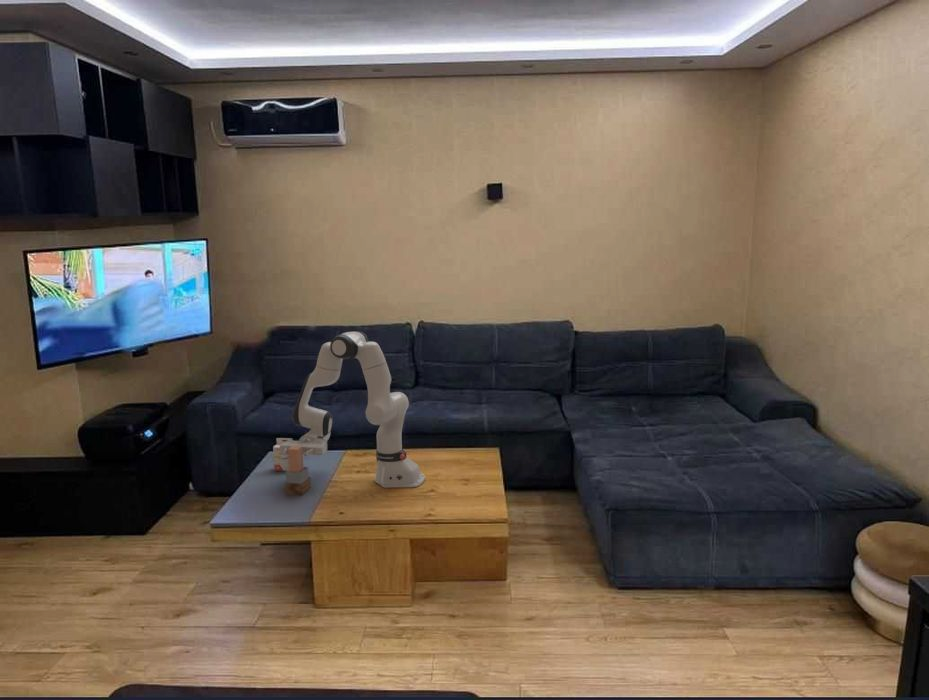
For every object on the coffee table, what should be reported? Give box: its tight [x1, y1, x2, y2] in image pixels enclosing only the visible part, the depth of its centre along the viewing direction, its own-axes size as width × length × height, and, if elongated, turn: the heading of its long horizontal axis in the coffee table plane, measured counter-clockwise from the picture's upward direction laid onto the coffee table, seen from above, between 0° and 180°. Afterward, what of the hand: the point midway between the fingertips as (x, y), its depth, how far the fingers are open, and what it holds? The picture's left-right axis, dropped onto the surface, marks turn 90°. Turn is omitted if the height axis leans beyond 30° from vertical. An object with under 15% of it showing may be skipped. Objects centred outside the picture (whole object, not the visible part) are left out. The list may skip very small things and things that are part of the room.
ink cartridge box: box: [272, 437, 293, 472], centre depth 315 cm, size 9×5×15 cm, turn 84°
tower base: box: [284, 476, 312, 496], centre depth 290 cm, size 8×8×5 cm
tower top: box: [285, 466, 310, 484], centre depth 289 cm, size 7×7×5 cm
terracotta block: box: [288, 446, 305, 472], centre depth 287 cm, size 4×4×10 cm
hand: (295, 454), depth 287 cm, fingers open, 8 cm apart
